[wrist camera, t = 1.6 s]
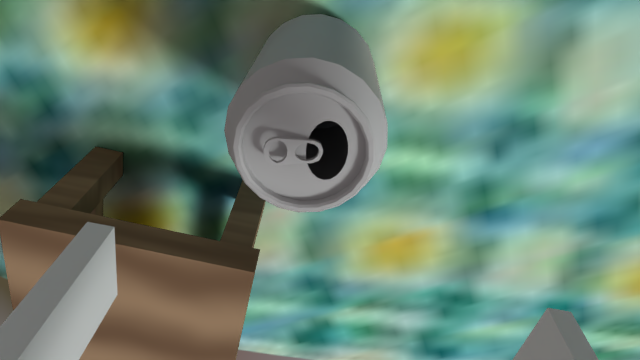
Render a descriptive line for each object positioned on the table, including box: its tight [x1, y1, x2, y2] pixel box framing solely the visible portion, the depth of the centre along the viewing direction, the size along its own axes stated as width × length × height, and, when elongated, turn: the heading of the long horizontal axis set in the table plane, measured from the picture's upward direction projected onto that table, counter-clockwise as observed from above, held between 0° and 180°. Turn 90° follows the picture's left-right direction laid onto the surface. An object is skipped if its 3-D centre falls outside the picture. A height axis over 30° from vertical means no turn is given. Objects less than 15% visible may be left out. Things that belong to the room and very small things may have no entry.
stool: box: [0, 147, 265, 360], centre depth 32 cm, size 14×14×10 cm
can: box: [224, 14, 387, 212], centre depth 24 cm, size 8×8×12 cm
